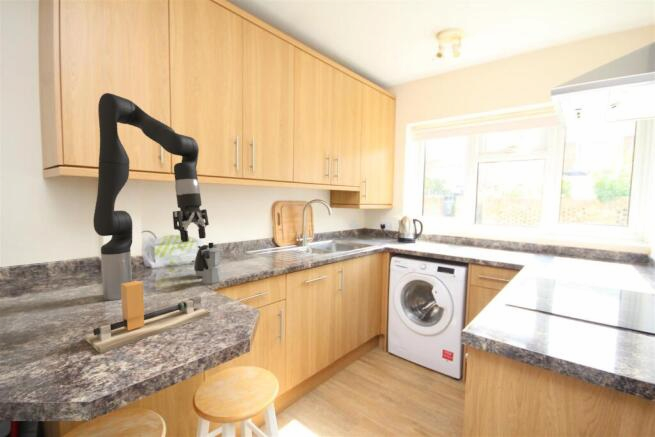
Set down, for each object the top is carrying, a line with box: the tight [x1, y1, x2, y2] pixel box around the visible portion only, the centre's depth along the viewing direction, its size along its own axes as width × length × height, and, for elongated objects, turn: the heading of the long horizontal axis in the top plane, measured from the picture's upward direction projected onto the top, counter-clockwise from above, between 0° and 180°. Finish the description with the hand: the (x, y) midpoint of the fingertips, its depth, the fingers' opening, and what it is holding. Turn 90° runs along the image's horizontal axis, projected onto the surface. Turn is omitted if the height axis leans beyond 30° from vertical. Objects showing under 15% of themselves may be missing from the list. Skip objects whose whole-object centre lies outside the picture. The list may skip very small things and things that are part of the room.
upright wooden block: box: [121, 280, 145, 330], centre depth 82 cm, size 4×4×12 cm
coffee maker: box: [201, 242, 223, 285], centre depth 132 cm, size 15×9×18 cm, turn 178°
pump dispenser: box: [193, 244, 209, 278], centre depth 143 cm, size 10×10×15 cm
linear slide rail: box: [84, 295, 211, 354], centre depth 87 cm, size 12×29×5 cm, turn 143°
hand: (194, 240), depth 101 cm, fingers open, 8 cm apart
